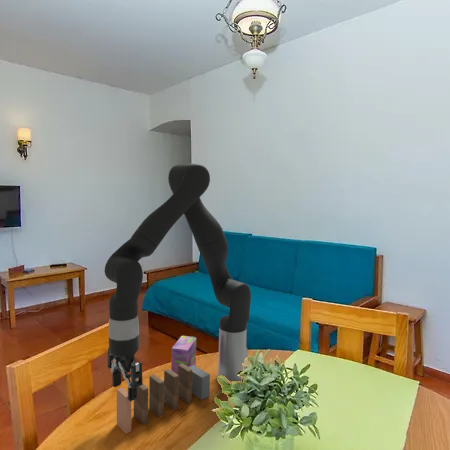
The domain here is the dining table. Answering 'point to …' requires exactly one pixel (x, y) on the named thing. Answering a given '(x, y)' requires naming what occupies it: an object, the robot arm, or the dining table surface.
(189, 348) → the box
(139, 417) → the domino
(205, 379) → the block
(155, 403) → the domino
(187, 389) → the domino
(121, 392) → the domino end
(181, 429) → the dining table surface
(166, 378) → the domino
